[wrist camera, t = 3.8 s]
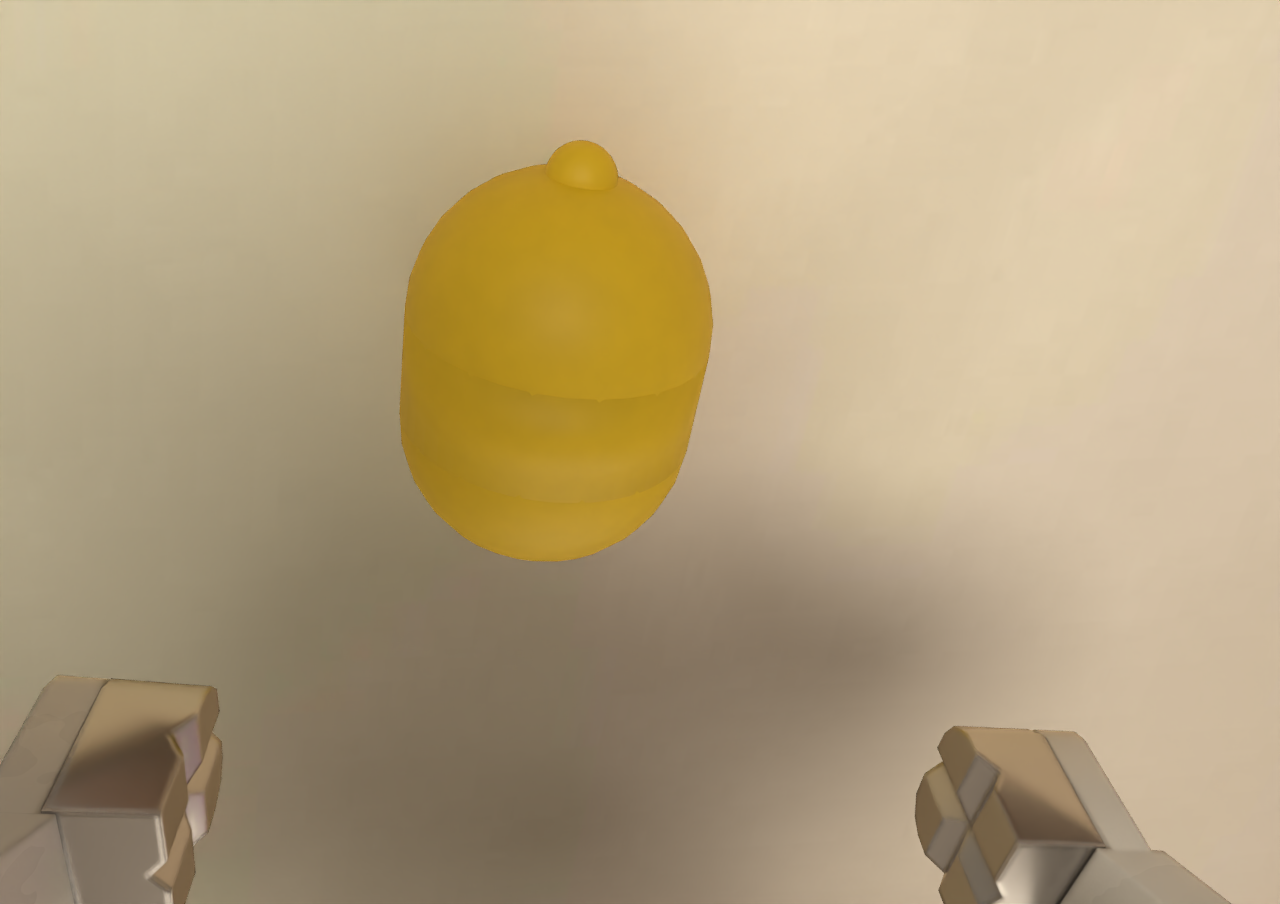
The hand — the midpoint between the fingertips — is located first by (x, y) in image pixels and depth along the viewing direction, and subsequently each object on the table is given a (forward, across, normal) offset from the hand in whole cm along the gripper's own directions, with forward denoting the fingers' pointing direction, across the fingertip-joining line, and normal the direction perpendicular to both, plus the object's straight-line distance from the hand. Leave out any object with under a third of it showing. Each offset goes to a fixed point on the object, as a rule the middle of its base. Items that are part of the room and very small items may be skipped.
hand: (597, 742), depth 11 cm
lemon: (+11, 0, 0) cm, 11 cm away
